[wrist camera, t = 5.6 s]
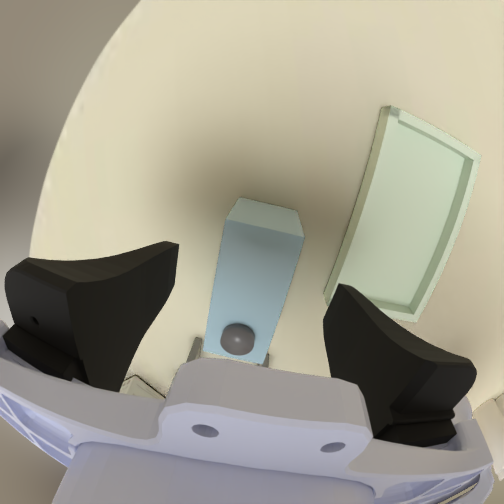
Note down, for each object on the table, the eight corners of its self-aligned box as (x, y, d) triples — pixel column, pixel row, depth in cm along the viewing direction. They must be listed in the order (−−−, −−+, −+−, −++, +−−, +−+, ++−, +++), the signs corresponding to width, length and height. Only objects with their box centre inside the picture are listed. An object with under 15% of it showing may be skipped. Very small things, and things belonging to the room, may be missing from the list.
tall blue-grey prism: (297, 210, 19) (306, 242, 13) (266, 316, 22) (262, 371, 16) (239, 196, 19) (223, 223, 13) (218, 305, 22) (200, 358, 16)
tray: (468, 153, 15) (481, 155, 14) (408, 311, 21) (416, 322, 19) (381, 107, 15) (391, 105, 14) (323, 293, 21) (326, 305, 19)
